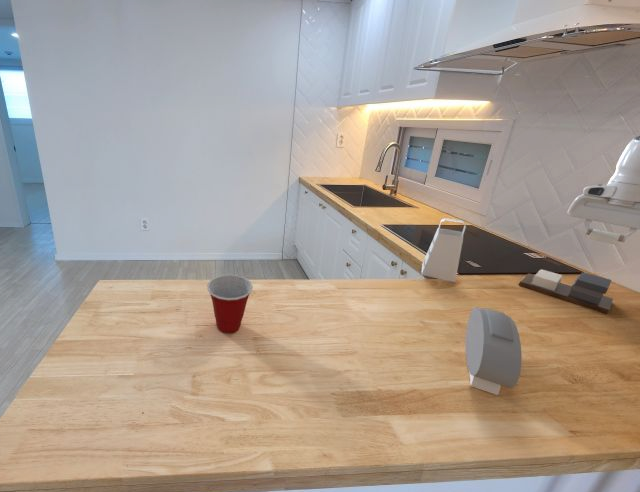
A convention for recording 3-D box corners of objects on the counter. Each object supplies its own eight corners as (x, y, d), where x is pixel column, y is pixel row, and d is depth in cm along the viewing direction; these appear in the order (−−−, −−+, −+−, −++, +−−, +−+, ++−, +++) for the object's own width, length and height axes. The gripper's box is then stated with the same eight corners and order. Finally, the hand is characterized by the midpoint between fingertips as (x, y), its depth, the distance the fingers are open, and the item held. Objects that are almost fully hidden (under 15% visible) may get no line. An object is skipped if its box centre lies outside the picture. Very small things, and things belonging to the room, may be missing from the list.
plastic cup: (197, 332, 81) (198, 288, 76) (218, 311, 90) (220, 270, 86) (238, 346, 77) (241, 300, 72) (256, 322, 86) (259, 281, 82)
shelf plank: (610, 302, 108) (613, 298, 108) (607, 314, 101) (609, 309, 100) (526, 276, 124) (528, 273, 123) (518, 285, 116) (519, 281, 116)
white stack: (559, 283, 116) (563, 275, 115) (554, 291, 110) (558, 282, 109) (537, 276, 120) (540, 268, 119) (530, 283, 115) (534, 275, 113)
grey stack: (602, 296, 109) (611, 279, 107) (599, 305, 103) (608, 288, 100) (572, 287, 114) (580, 271, 112) (567, 295, 108) (575, 278, 106)
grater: (421, 264, 129) (436, 214, 121) (453, 271, 124) (470, 219, 117) (421, 274, 120) (437, 221, 112) (455, 282, 116) (473, 227, 108)
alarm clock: (505, 408, 64) (531, 354, 59) (468, 395, 67) (489, 342, 62) (490, 344, 83) (509, 299, 78) (461, 336, 86) (478, 292, 81)
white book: (618, 239, 103) (620, 234, 103) (615, 244, 98) (618, 239, 97) (591, 233, 108) (594, 228, 107) (587, 238, 102) (590, 233, 101)
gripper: (681, 199, 92) (654, 246, 97) (580, 185, 106) (562, 227, 111) (681, 202, 88) (654, 250, 93) (577, 187, 102) (558, 230, 108)
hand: (603, 237), depth 103 cm, fingers closed on white book, 6 cm apart
